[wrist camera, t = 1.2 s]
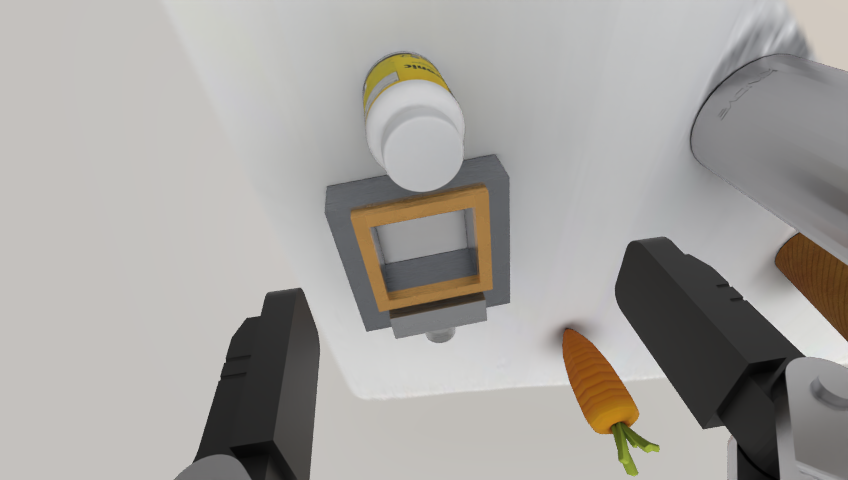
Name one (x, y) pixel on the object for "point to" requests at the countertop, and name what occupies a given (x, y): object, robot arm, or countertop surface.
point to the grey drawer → (432, 275)
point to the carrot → (602, 396)
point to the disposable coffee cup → (817, 278)
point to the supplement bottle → (413, 122)
